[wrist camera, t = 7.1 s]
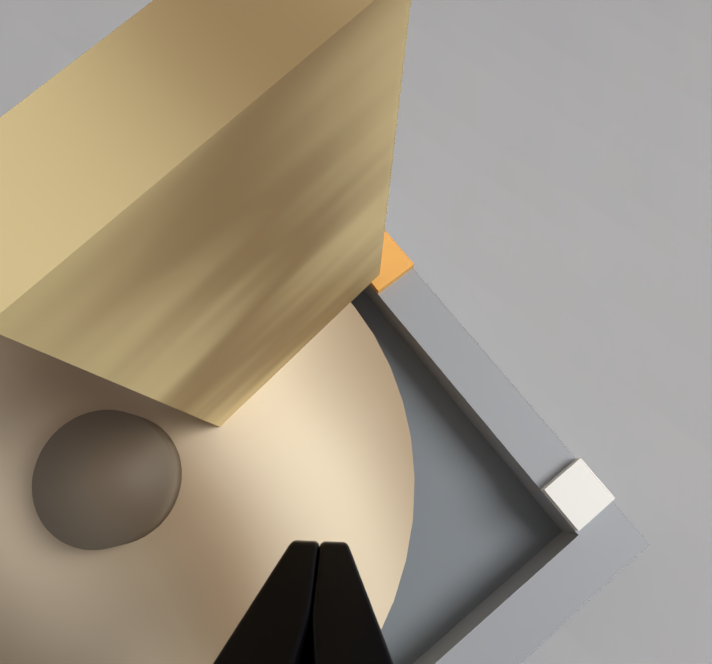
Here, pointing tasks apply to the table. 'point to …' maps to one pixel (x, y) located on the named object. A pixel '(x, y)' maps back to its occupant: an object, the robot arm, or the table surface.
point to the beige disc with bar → (196, 326)
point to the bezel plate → (483, 494)
